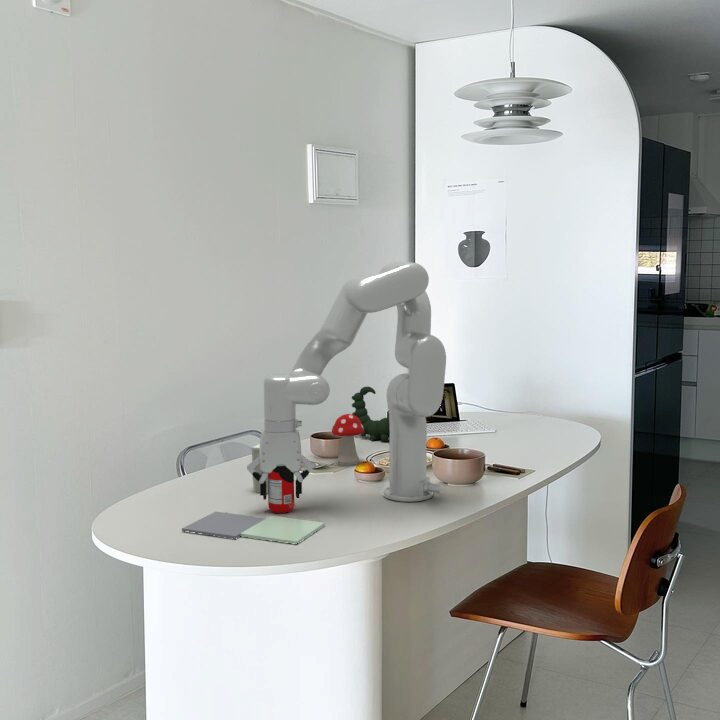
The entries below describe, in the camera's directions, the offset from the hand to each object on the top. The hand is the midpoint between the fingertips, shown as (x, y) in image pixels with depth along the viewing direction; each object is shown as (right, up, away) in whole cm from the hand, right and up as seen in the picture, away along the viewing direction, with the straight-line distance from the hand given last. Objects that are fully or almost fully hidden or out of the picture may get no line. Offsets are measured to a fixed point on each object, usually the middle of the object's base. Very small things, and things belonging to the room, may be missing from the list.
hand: (281, 497), depth 213 cm
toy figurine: (+28, +6, +78) cm, 83 cm away
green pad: (+2, -5, -15) cm, 16 cm away
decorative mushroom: (+16, +2, +47) cm, 49 cm away
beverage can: (0, -4, 0) cm, 4 cm away
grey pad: (-12, -5, -12) cm, 17 cm away
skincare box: (-6, -1, +18) cm, 19 cm away
